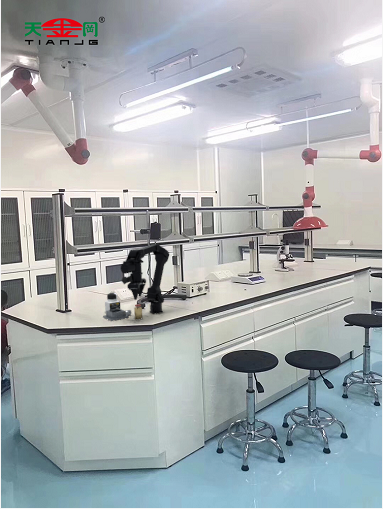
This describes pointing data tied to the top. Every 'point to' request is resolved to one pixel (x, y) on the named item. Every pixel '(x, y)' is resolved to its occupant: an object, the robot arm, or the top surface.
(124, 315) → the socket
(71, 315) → the top surface
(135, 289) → the robot arm
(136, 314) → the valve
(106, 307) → the medicine bottle
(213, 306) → the top surface
